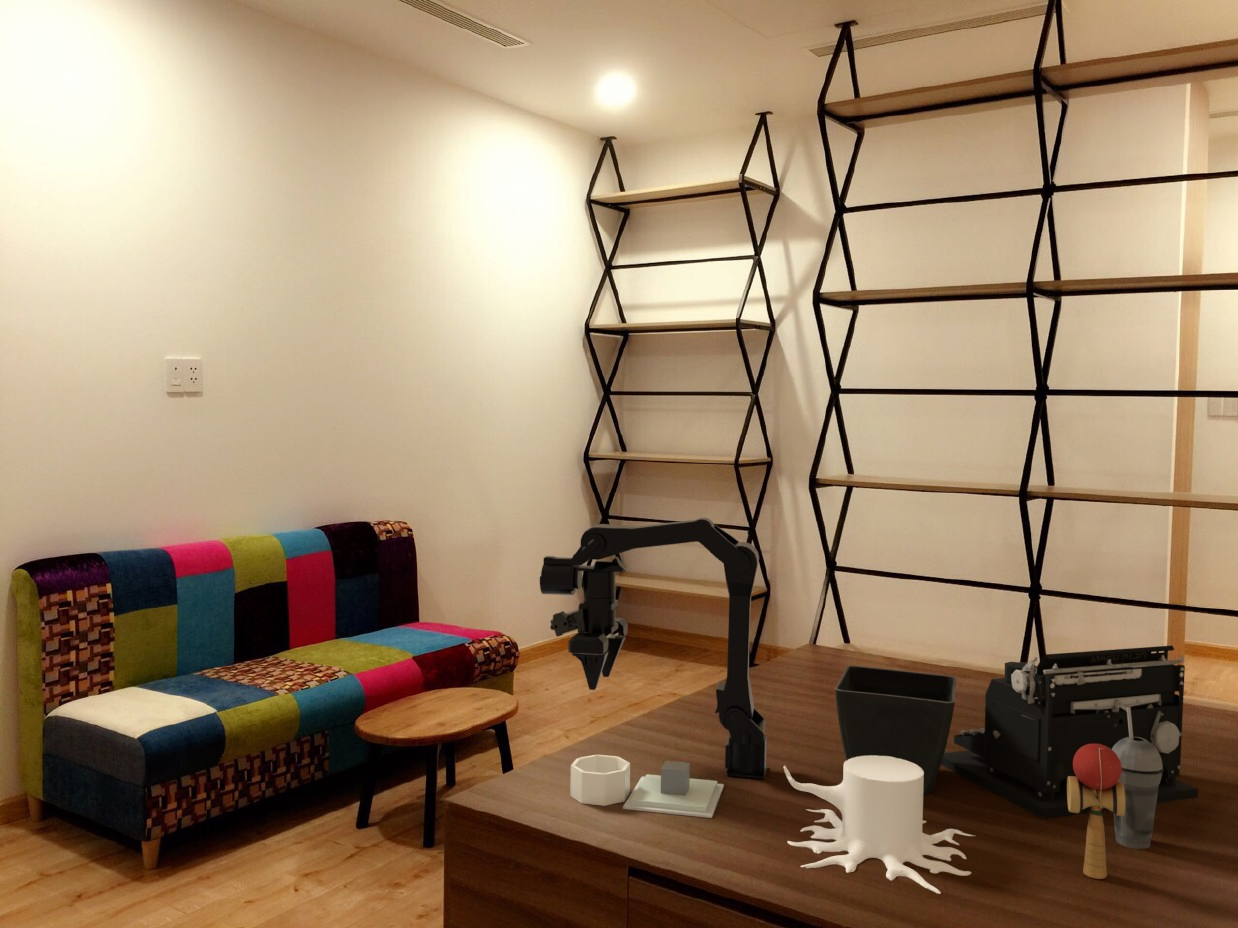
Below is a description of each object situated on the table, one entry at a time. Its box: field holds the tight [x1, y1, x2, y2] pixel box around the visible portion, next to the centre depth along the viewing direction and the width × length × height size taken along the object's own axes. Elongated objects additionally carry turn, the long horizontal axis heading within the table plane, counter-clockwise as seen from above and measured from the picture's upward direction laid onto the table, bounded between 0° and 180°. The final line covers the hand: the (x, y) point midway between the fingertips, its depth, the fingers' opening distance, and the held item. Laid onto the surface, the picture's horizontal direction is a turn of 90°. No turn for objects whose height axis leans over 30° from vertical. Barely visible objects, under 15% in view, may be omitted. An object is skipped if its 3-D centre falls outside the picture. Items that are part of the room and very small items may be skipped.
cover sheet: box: [631, 760, 718, 812], centre depth 164 cm, size 12×12×5 cm
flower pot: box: [835, 665, 957, 795], centre depth 175 cm, size 19×19×17 cm
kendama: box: [1067, 744, 1125, 880], centre depth 137 cm, size 8×6×18 cm
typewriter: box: [941, 645, 1199, 820], centre depth 174 cm, size 31×27×25 cm
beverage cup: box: [1112, 707, 1164, 850], centre depth 148 cm, size 7×7×20 cm
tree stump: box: [783, 755, 975, 895], centre depth 149 cm, size 28×28×11 cm
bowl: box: [569, 754, 631, 807], centre depth 165 cm, size 9×9×5 cm
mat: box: [622, 776, 725, 819], centre depth 165 cm, size 14×14×1 cm
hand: (599, 682), depth 181 cm, fingers open, 9 cm apart
